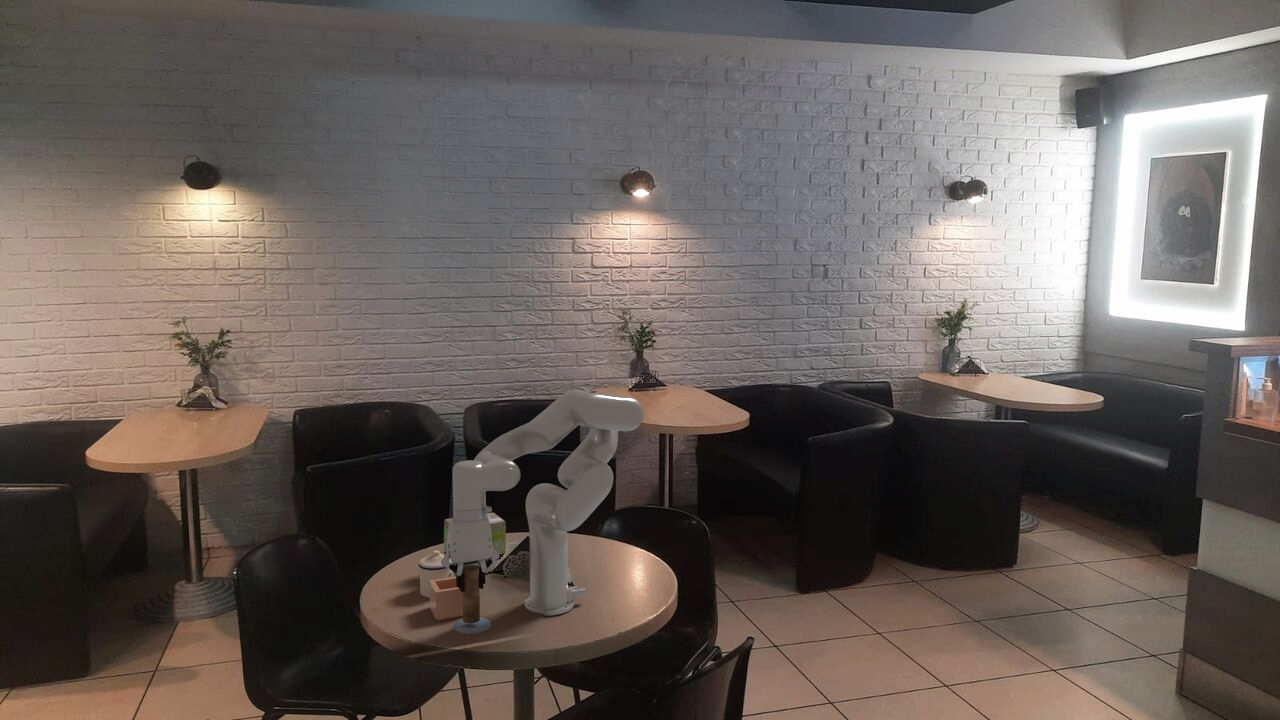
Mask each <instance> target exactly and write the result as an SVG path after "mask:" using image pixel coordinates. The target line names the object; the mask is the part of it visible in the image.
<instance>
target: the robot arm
mask: <svg viewBox="0 0 1280 720" xmlns="http://www.w3.org/2000/svg"><path fill="white" fill-rule="evenodd" d="M644 415H645V412H644V408H643V406H642V404H641V403H640V402H639V401H638V400H637V399H634V398H632V397H627V396H623V395H619V394H616V393H610V392H604V393H600V394H599V393H598V394H597V393H593V392H590V391H584V390H580V389H570V390H567V391H566V392H564V393H562V395H561V396H559V397H558V398H557V399H555V400H554V401H553V402H552V403H551V404H550V405H548V407H546V408H545V409H544V410H543V411H542V412H540V413H539V414H538V415H537V416H536V417H534V418H533V419H532V420H530V421H529V422H528V423H525V424H523V425H520V426H518V427H516V428H514V429H512V430H510V431H508V432H506V433H504V434H501V435H500V436H498V437H496V438H495V439H493V441H491V442H490V443H489V444H488V445H486V447H484V448H483V449H482V450H480V452H479V453H478V454H477V455H476V456H475V457H474V459H473V460H470V459H469V460H468V459H467V460H461V461H458V462H456V463H455V464H454V465H453V466H452V502H453V503H452V510H453V511H452V513H453V514H452V515H453V516H452V517H453V519H451V518H449V519H450V522H449V529H448V541H447V552H446V554H445V555H444V554H443V555H444V557H443V559H442V560H441V564H442V566H444V567H446V568H449V569H450V570H452V571H453V572H454V573H455V574H456V586H457V588H459V589H460V591H461V592H464V575H463V572H462V569H463V563H467V562H474V561H478V563H479V588H480V590H484V585H485V584H486V573H485V572H486V571H487V569H488V568H489V566H490V565H491V564H492V563H493V562H494V561H495V560H497V559H498V558H499V557H500V555H499V554H498V553H497V551H496V550H495V549H494V547H493V546H492V535H491V528H490V523H489V518H488V516H487V513H493V512H492V511H493V508H492V507H493V506H489V505H487V502H486V501H487V500H486V498H487V496H486V492H493V491H494V492H495V491H496V492H504V491H508V490H511V489H513V488H515V487H516V485H517V484H518V483H519V481H520V479H521V470H520V468H519V466H518V465H517V463H516V462H514V460H516V459H518V458H519V457H522V456H524V455H528V454H533V453H539V452H540V453H541V452H544V451H549V450H552V449H553V448H554V447H555V446H557V444H559V443H560V442H561V441H562V440H563V439H565V437H567V436H568V435H569V434H570V433H571V432H572V431H574V429H576V428H577V427H578V426H583V427H586V428H590V429H589V432H588V433H587V435H586V437H585V438H584V439H583V441H582V442H581V443H580V444H579V445H578V446H577V447H576V448H575V449H574V450H573V451H572V452H571V454H570V455H569V456H568V457H567V458H566V459H565V460H564V461H563V462H562V463H561V465H560V466H559V468H558V472H557V479H558V482H559V484H561V485H562V486H563V487H565V488H566V489H565V488H563V487H561V486H558V485H556V484H552V483H547V482H545V483H539V484H536V485H535V486H533V487H532V488H531V489H529V492H528V493H527V496H526V499H525V512H526V513H525V514H526V519H527V524H528V531H529V587H530V588H529V589H530V590H529V593H530V596H529V597H527V598H526V599H525V600H524V603H523V606H524V608H525V609H526V610H528V611H530V612H532V613H536V614H540V615H541V616H544V617H545V616H546V617H547V616H548V617H549V616H557V615H562V614H565V613H567V612H569V611H571V610H572V609H573V608H574V606H575V600H574V599H575V598H576V597H582V596H586V595H587V589H586V587H581V588H579V587H578V586H577V585H574V586H571V587H570V586H569V585H568V584H569V583H568V582H569V581H568V580H569V576H568V573H569V572H568V571H569V569H568V566H569V565H568V562H569V561H568V559H569V558H568V546H569V545H568V540H569V539H568V532H570V531H573V530H576V529H577V528H579V527H580V526H581V525H582V524H583V523H584V522H585V521H586V520H587V519H588V518H589V517H590V516H591V514H592V513H593V512H594V511H595V510H596V509H597V508H598V507H599V505H600V504H601V503H602V502H603V501H604V500H605V498H607V496H608V495H609V493H610V492H611V489H612V487H613V483H614V474H613V470H612V468H611V466H610V465H608V463H609V462H610V460H611V459H612V458H613V457H614V455H615V453H616V451H617V448H618V443H619V442H618V441H619V432H631V431H634V430H636V429H637V428H638V427H639V426H640V425H641V424H642V422H643V421H644V417H645V416H644ZM450 558H451V562H452V563H450V562H449V560H450ZM453 563H455V565H454V564H453Z"/></svg>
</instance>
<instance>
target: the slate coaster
mask: <svg viewBox="0 0 1280 720" xmlns="http://www.w3.org/2000/svg"><path fill="white" fill-rule="evenodd" d="M491 626H492V622H491V620H489V619H487V618H484V617H480V621H478V622H476V623H465V622H463V618H462V619H459V620H458V621H456V622H454V623H453V625H452V629H453V631H456V632H457V633H460V634H478V633H482V632H484V631H486V630H488V629H490V628H491Z"/></svg>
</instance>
